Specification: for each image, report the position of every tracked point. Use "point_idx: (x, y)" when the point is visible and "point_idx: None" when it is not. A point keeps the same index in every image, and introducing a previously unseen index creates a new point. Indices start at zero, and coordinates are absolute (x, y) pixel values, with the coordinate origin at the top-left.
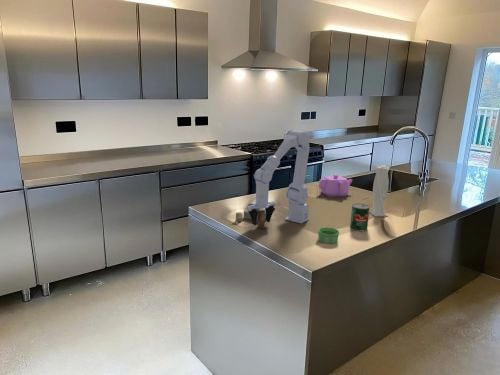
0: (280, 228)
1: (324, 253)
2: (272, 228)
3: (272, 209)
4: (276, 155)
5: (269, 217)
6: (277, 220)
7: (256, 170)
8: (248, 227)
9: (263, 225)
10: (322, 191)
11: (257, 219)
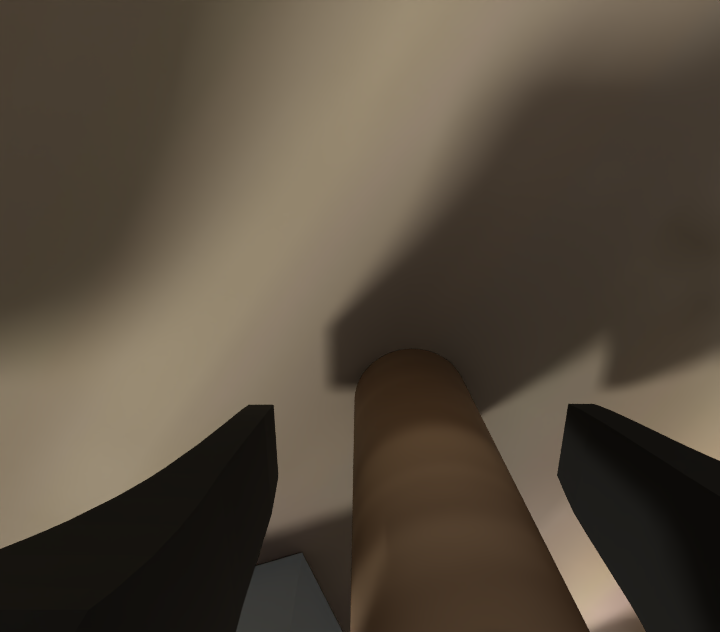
0: (137, 191)
1: None
2: (273, 264)
3: (28, 621)
4: None
5: (239, 453)
6: (8, 502)
7: None
8: None
9: (409, 369)
10: None
11: (317, 619)
